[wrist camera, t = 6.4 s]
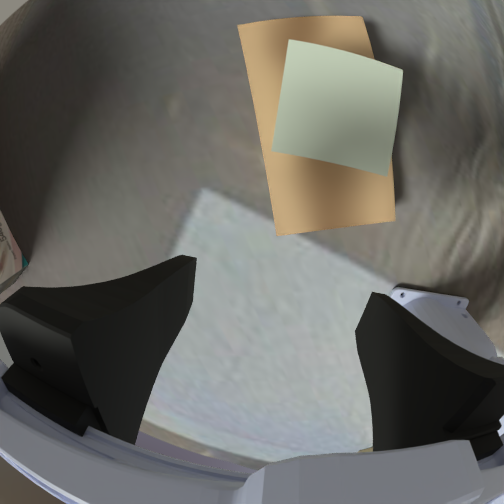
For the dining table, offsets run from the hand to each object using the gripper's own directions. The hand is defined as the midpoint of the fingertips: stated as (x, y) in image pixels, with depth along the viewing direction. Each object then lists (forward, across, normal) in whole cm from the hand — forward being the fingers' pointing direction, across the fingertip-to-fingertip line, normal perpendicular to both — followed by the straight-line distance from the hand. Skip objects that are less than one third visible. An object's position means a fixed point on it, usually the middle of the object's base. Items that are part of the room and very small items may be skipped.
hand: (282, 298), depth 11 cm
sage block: (+7, -1, -8) cm, 11 cm away
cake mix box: (+10, +36, +3) cm, 37 cm away
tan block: (+10, -1, -8) cm, 13 cm away
